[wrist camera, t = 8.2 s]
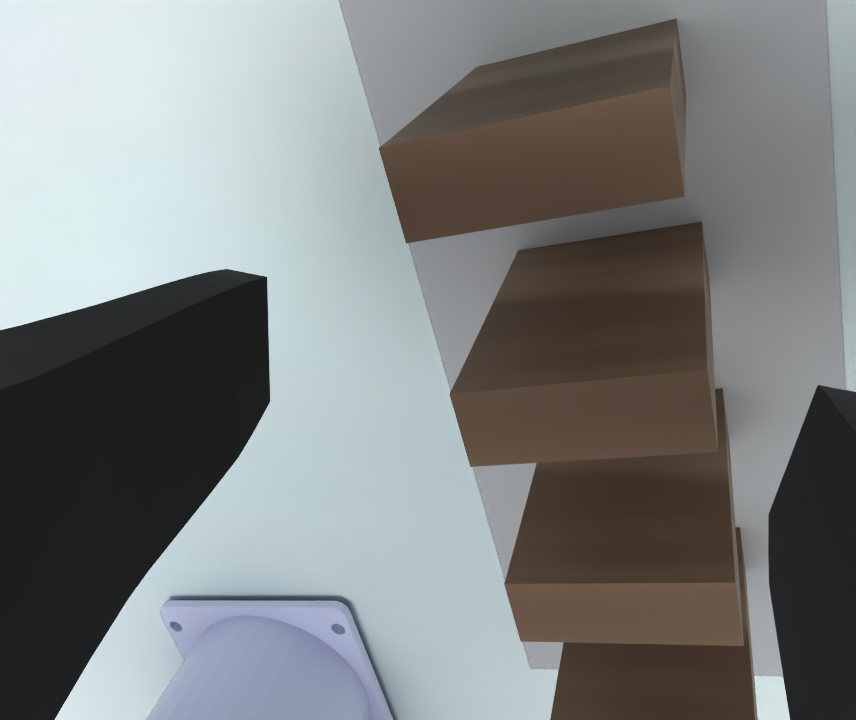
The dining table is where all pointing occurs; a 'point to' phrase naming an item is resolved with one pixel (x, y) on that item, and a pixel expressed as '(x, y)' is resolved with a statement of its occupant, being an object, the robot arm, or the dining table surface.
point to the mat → (659, 218)
